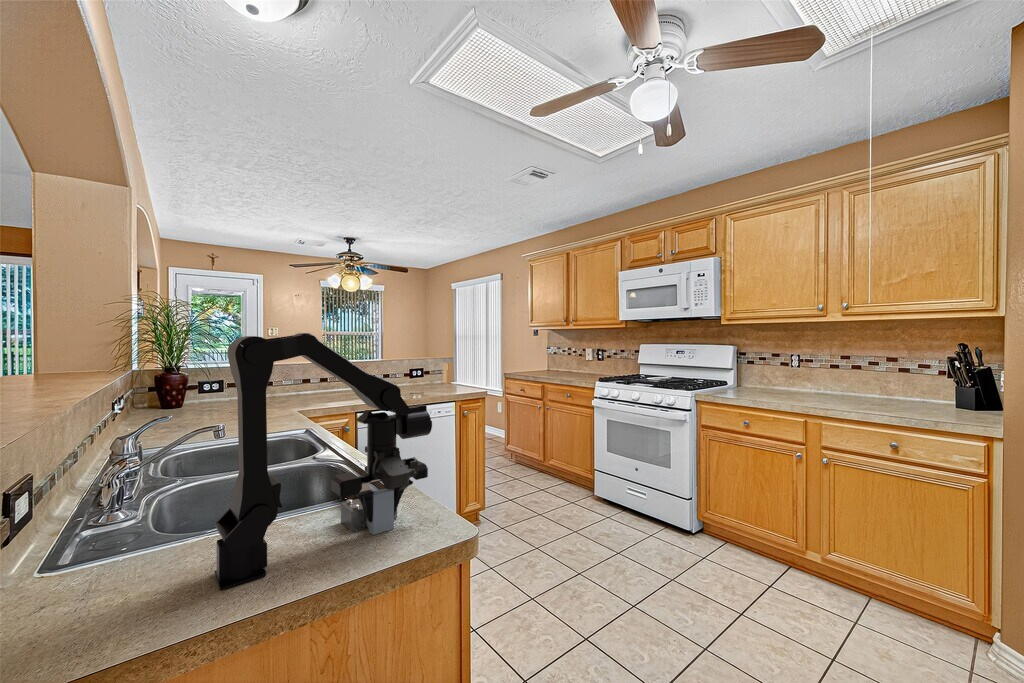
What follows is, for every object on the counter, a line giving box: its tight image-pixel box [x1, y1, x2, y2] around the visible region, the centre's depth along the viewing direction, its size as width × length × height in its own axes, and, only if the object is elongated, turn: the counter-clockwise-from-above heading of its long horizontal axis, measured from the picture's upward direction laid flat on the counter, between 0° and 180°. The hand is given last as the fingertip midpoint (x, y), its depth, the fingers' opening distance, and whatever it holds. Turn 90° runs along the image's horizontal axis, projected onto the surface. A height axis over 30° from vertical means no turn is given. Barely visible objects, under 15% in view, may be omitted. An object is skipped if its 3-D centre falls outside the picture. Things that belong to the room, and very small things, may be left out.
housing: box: [340, 499, 398, 533], centre depth 94 cm, size 10×6×5 cm, turn 131°
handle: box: [364, 487, 395, 536], centre depth 91 cm, size 4×9×8 cm, turn 41°
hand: (381, 518), depth 89 cm, fingers closed on handle, 4 cm apart
